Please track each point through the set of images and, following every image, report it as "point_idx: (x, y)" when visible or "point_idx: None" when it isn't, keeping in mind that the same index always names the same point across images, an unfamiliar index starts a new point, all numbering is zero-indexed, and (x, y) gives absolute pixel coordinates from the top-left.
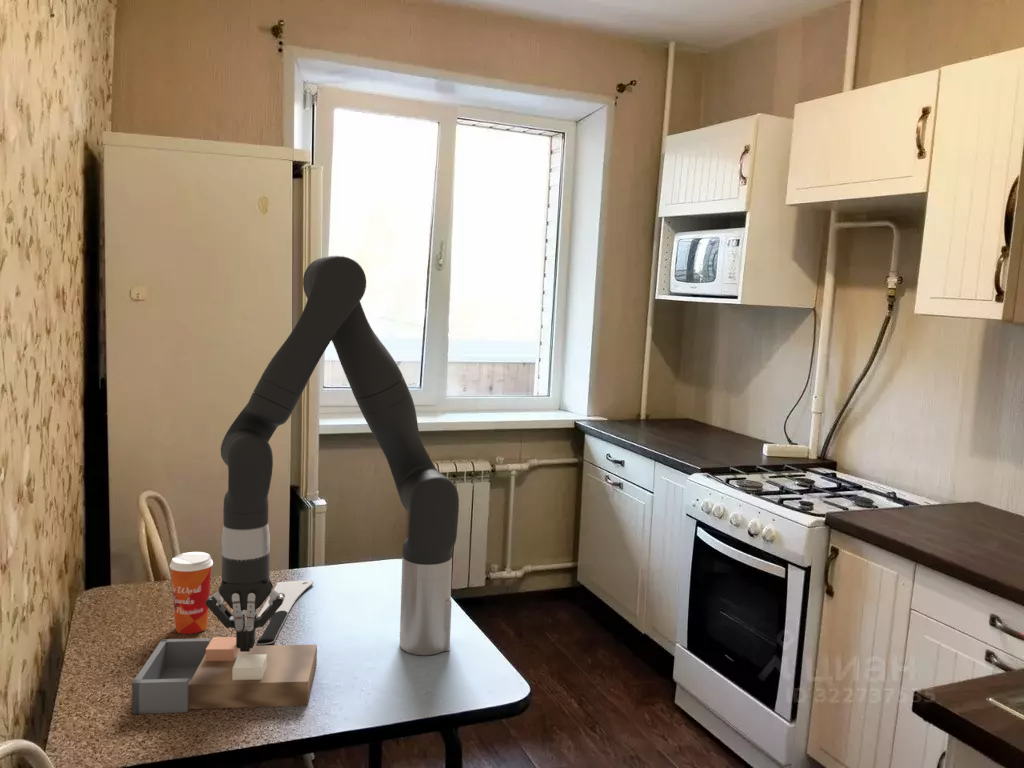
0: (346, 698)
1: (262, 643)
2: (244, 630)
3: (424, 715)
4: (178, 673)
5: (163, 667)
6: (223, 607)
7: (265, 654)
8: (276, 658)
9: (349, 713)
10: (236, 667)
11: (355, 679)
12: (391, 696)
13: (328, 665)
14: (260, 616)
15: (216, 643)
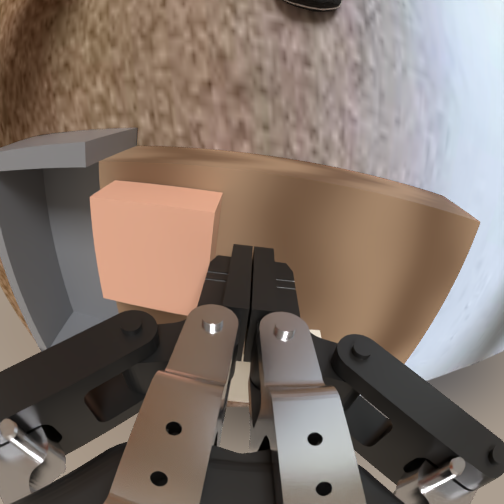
0: (436, 329)
1: (299, 4)
2: (240, 353)
3: (477, 360)
4: (71, 183)
5: (35, 179)
6: (66, 414)
7: None
8: (356, 294)
9: (418, 362)
10: (234, 399)
11: (476, 272)
12: (481, 325)
13: (462, 198)
14: (341, 387)
15: (121, 262)
